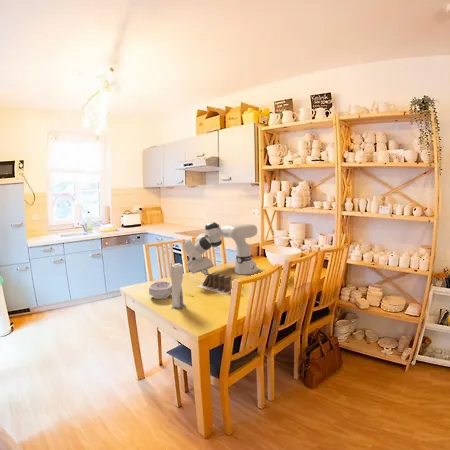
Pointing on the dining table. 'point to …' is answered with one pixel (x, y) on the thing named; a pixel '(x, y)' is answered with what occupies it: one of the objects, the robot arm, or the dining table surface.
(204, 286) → the board
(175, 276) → the skyscraper
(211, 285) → the domino
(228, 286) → the domino
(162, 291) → the paper bowls
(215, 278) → the domino
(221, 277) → the domino
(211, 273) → the domino
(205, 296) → the dining table surface
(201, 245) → the robot arm
